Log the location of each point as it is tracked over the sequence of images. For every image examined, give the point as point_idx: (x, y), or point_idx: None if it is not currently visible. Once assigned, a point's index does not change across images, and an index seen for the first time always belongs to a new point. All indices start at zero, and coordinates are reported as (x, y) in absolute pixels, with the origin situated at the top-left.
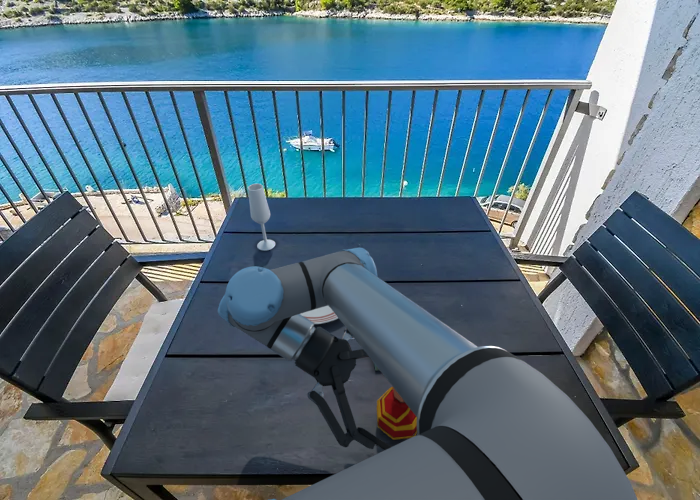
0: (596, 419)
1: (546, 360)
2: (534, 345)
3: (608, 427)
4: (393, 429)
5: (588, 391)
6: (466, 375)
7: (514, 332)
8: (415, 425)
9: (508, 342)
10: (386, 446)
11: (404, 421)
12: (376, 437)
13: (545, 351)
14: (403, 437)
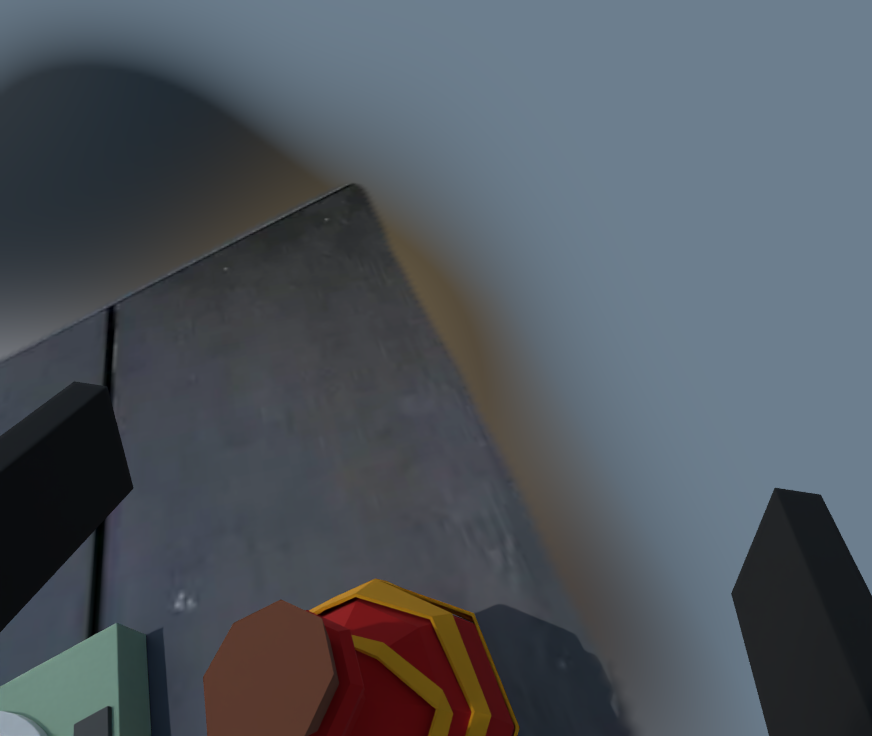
0: (276, 230)
1: (131, 332)
2: (85, 363)
3: (290, 212)
4: (487, 724)
5: (211, 250)
6: None
7: None
8: (428, 605)
9: None
10: (835, 569)
11: (430, 660)
12: (864, 691)
13: (105, 338)
14: (495, 668)
